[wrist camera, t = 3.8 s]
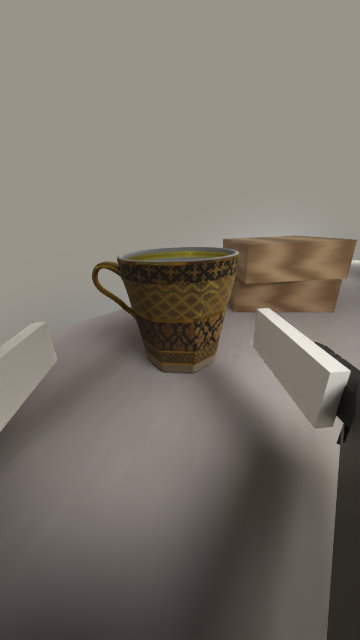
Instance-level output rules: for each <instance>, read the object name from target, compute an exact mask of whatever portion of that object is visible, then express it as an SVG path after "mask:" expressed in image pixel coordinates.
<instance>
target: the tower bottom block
mask: <svg viewBox="0 0 360 640" xmlns="http://www.w3.org/2000/svg"><path fill="white" fill-rule="evenodd" d="M341 282H342V280H341V279H329V280H309V281H288V282H268V283H248V284H246V283H244V282H243V281H241V280H240V279H239V278H237V277H236V276H235V279H234V283H233V287H232V291H231V295H230V298H229V300H230V303H231V306H232V309H233V312H257V309H262V308H269V309H271V310H272V311H273V312H334V309H335V305H336V301H337V297H338V294H339V290H340V286H341Z"/></svg>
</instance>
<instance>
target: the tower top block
mask: <svg viewBox="0 0 360 640" xmlns="http://www.w3.org/2000/svg"><path fill="white" fill-rule="evenodd" d="M356 242H357V240H352V239H337V238H322V237H307V236H282V237H261V238H260V237H258V238H237V239H236V238H235V239H223V248H227V249H233V250H237V251H238V252H239V253H240V254H239V260H238V265H237V270H236V275H235V276H236V277H237V278H239V279H240V280H241V281H243V282H244V283H246V284H248V283H268V282H288V281H309V280H329V279H347V276H348V272H349V268H350V265H351V261H352V257H353V253H354V250H355V246H356Z"/></svg>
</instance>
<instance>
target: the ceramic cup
mask: <svg viewBox="0 0 360 640" xmlns="http://www.w3.org/2000/svg"><path fill="white" fill-rule="evenodd" d="M239 254H240V253H239V252H238V251H237V250H233V249H227V248H213V247H181V248H162V249H150V250H141V251H135V252H129V253H125V254H122V255H119V256H118V257H117V261H118V264H117V263H114V262H102V263H99V264H97V265H96V266H95V268H94V269H93V273H92V279H93V283H94V285H95V286H96V287H97V289H98V290H99V291H100V292H102V293H103V294H104V295H106V296H107V297H109V298H111V299H112V300H114V301H115V302H116V303H118V304H119V305H120V306H121V307H122V308H123V309H124V310H125V311H127V312H128V313H130V314H131V315H132V316H133V317H134V318H135V319H136V321H137V324H138V327H139V330H140V333H141V336H142V339H143V342H144V346H145V349H146V352H147V356H148V359H149V360H150V361H151V362H152V363H153V364H155V365H156V366H157V367H158V368H159V369H161V370H162V371H163V372H170V373H195V372H197V371H198V370H200V369H202V368H204V367H206V366H208V365H209V364H211V363H213V362H214V359H215V355H216V351H217V346H218V341H219V337H220V333H221V328H222V324H223V320H224V315H225V310H226V307H227V304H228V301H229V298H230V295H231V291H232V287H233V283H234V279H235V275H236V270H237V265H238V260H239ZM102 268H105V269H109V270H111V271H113V272H115V273H116V274H118V275H119V276H120V277H121V278H122V280H123V282H124V285H125V288H126V290H127V294H128V297H129V299H130V303H131V306H132V308H130V307H128V306H127V305H126V304H125V303H124V302H123V301H122V300H121V299H119V298H118V297H116V296H115V295H113V294H112V293H110V292H109V291H107V290H106V289H105V288H103V287H102V286H101V284H100V283H99V281H98V272H99V270H100V269H102Z"/></svg>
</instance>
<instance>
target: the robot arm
mask: <svg viewBox="0 0 360 640" xmlns="http://www.w3.org/2000/svg"><path fill="white" fill-rule="evenodd" d="M253 347H254V348H255V350H256V351H257V352H258V354H259V355H260V356H261V358H262V359H263V360H264V362H265V363H266V364H267V366H268V367H269V368H270V370H271V371H272V372H273V374H274V375H275V376H276V378H277V379H278V380H279V382H280V383H281V384H282V386H283V387H284V388H285V390H286V391H287V392H288V394H289V395H290V396H291V398H292V399H293V400H294V402H295V403H296V404H297V406H298V407H299V408H300V410H301V411H302V412H303V414H304V415H305V416H306V418H307V419H308V420H309V422H310V423H311V424H312V426H313V427H314V428H324V427H333V424H334V421H335V418H336V415H337V416H338V417H339V419H340V420H341V421H342V422H343V423H344V424H343V427H342V429H341V432H340V435H339V438H338V441H337V444H339V445H340V457H339V471H338V486H337V500H336V515H335V529H334V544H333V558H332V573H331V587H330V602H329V616H328V630H327V640H360V370H358V369H357V368H355V367H354V366H353V365H351V364H350V363H349V362H347V361H346V360H345V359H342V357H340V356H339V355H338V354H335V352H334V351H332V350H331V349H329V348H328V347H327V346H324V345H322V344H320V343H317V342H312V341H311V340H310V339H308V338H307V337H306V336H305V335H303V334H302V333H301V332H299V331H298V330H297V329H295V328H294V327H293V326H292V325H290V324H289V323H288V322H286V321H285V320H284V319H282V318H281V317H280V316H279V315H277V314H276V313H275V312H273V311H272V310H271V309H269V308H262V309H257V314H256V324H255V333H254V342H253ZM57 360H58V359H57V356H56V353H55V350H54V346H53V343H52V340H51V337H50V333H49V330H48V327H47V324H46V322H34V323H32V324H30V325H29V326H28V327H26V328H25V329H23V330H22V331H21V332H19V333H18V334H17V335H15V336H14V337H12V338H11V339H10V340H8V341H7V342H5V343H4V344H3V345H1V346H0V431H1V430H2V429H3V428H4V426H5V425H6V424H7V423H8V421H9V420H10V419H11V418H12V417H13V415H14V414H15V413H16V412H17V410H18V409H19V408H20V407H21V405H22V404H23V403H24V402H25V400H26V399H27V398H28V397H29V395H30V394H31V393H32V392H33V390H34V389H35V388H36V387H37V385H38V384H39V383H40V382H41V380H42V379H43V378H44V377H45V375H46V374H47V373H48V372H49V370H50V369H51V368H52V367H53V365H54V364H55V363H56V362H57Z"/></svg>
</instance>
